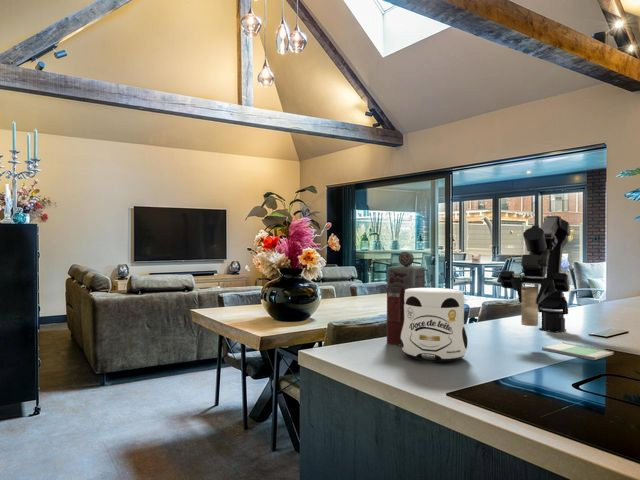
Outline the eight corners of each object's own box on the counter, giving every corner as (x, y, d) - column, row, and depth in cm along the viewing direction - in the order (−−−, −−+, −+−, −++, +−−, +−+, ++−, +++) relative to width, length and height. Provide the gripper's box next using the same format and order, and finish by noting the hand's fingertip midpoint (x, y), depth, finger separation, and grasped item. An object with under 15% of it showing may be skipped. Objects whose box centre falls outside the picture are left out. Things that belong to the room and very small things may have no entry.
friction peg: (518, 324, 134) (518, 286, 134) (526, 322, 137) (526, 286, 137) (532, 326, 131) (532, 288, 131) (540, 324, 133) (540, 287, 133)
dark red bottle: (383, 344, 137) (383, 251, 138) (398, 338, 147) (398, 251, 147) (410, 348, 132) (411, 252, 133) (425, 341, 142) (425, 251, 142)
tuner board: (542, 349, 132) (542, 347, 132) (563, 344, 138) (563, 342, 138) (593, 360, 120) (593, 357, 120) (613, 354, 126) (613, 351, 126)
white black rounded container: (419, 368, 112) (419, 295, 112) (390, 352, 128) (390, 288, 128) (481, 364, 116) (481, 293, 116) (445, 348, 133) (445, 286, 133)
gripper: (500, 244, 143) (489, 282, 134) (567, 245, 131) (560, 286, 123) (507, 268, 149) (497, 306, 140) (572, 271, 138) (565, 312, 129)
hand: (528, 302), depth 133 cm, fingers closed on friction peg, 4 cm apart
